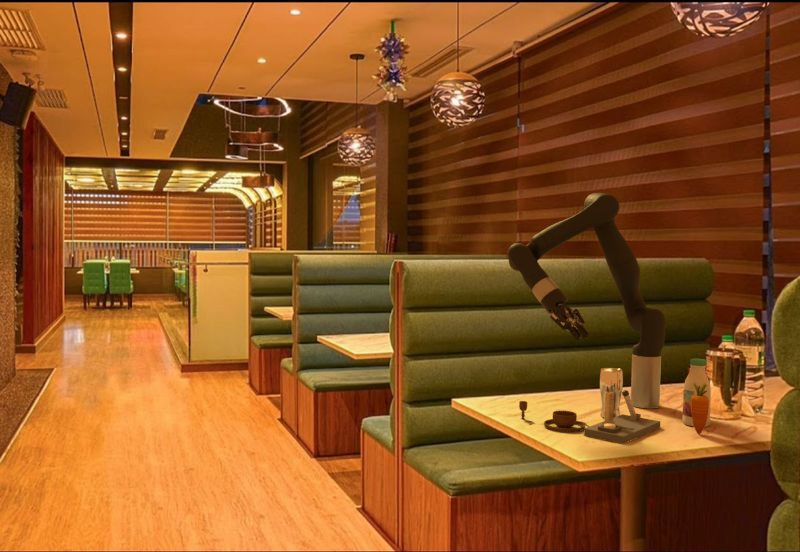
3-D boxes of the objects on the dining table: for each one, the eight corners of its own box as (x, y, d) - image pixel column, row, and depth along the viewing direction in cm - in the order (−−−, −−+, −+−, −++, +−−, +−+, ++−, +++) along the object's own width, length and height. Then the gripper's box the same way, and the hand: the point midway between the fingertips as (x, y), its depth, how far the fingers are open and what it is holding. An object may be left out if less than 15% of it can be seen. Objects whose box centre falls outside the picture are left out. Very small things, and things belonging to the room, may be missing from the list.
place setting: (547, 436, 211) (548, 416, 210) (515, 420, 230) (515, 401, 229) (600, 432, 216) (601, 412, 216) (564, 416, 235) (565, 398, 235)
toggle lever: (633, 418, 222) (623, 390, 224) (639, 417, 221) (628, 389, 223) (630, 420, 221) (620, 391, 223) (636, 418, 220) (625, 389, 222)
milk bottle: (708, 422, 227) (711, 358, 226) (710, 428, 220) (712, 362, 219) (681, 420, 229) (684, 356, 228) (682, 426, 222) (684, 360, 221)
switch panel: (622, 420, 228) (622, 409, 228) (660, 427, 220) (660, 415, 220) (584, 435, 210) (584, 422, 210) (623, 443, 202) (624, 430, 202)
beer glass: (622, 420, 229) (624, 372, 228) (599, 418, 230) (601, 371, 229) (620, 414, 235) (622, 368, 235) (598, 413, 237) (599, 367, 236)
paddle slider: (607, 422, 217) (608, 391, 216) (615, 423, 215) (615, 392, 215) (602, 423, 214) (603, 393, 214) (610, 425, 213) (611, 394, 212)
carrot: (686, 432, 215) (688, 381, 215) (702, 431, 216) (704, 381, 215) (694, 436, 210) (696, 384, 210) (711, 436, 211) (713, 384, 210)
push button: (607, 427, 211) (607, 422, 211) (617, 429, 209) (617, 424, 209) (601, 429, 209) (601, 424, 208) (612, 431, 206) (612, 426, 206)
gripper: (545, 288, 224) (580, 331, 217) (568, 286, 235) (603, 327, 227) (529, 304, 228) (563, 347, 221) (553, 301, 239) (587, 343, 231)
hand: (583, 337), depth 224 cm, fingers open, 4 cm apart
